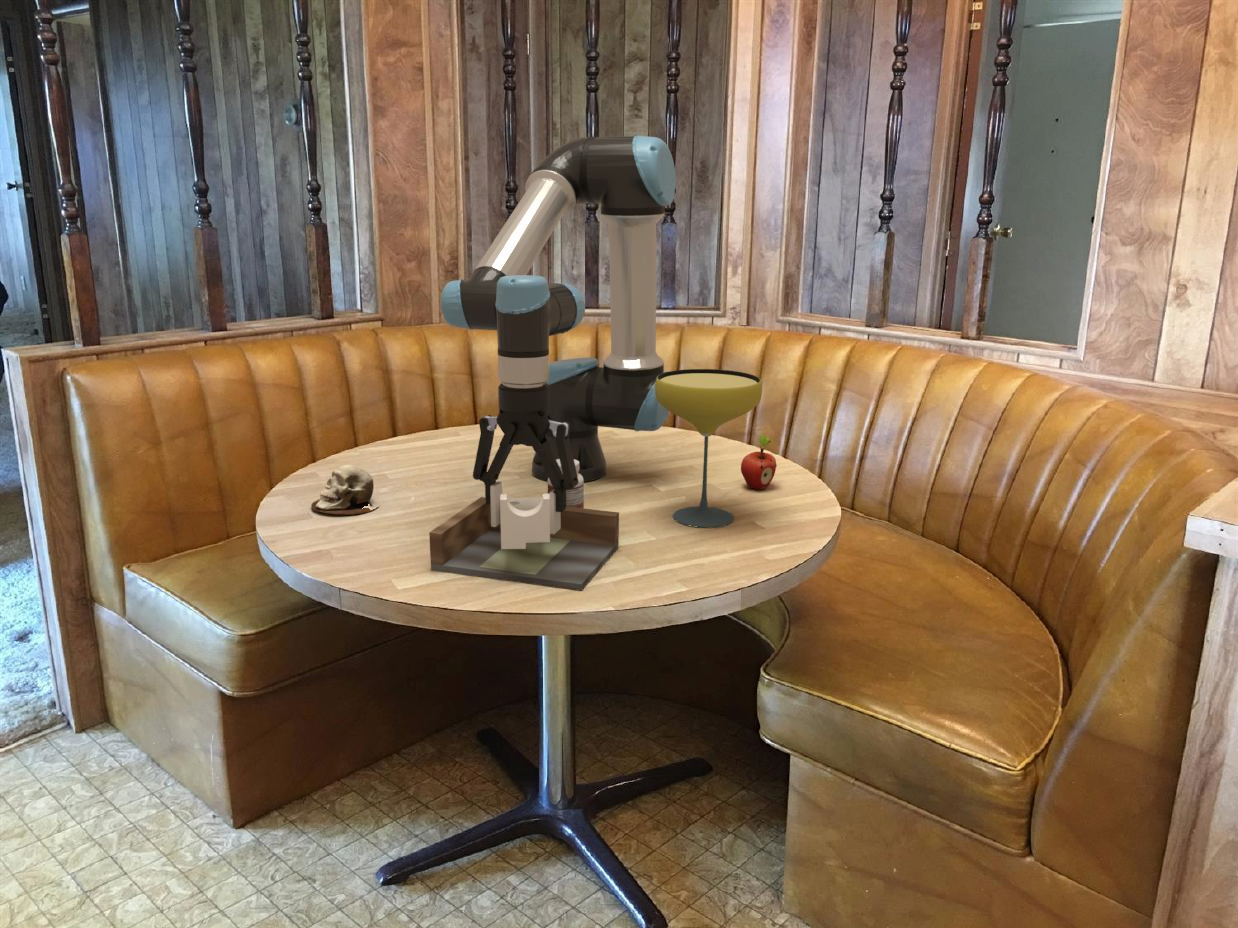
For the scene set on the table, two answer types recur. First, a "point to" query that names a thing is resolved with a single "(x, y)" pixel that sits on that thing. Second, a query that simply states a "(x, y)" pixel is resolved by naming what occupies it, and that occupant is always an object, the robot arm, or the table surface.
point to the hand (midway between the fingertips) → (525, 527)
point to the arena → (555, 563)
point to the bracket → (524, 521)
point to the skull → (346, 492)
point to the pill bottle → (575, 494)
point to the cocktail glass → (707, 419)
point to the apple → (759, 467)
